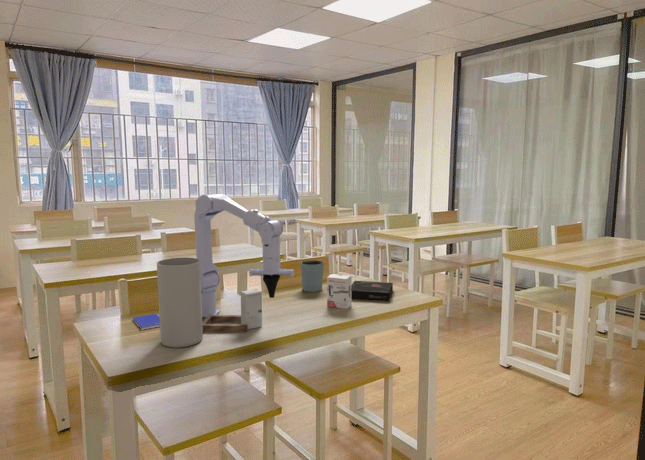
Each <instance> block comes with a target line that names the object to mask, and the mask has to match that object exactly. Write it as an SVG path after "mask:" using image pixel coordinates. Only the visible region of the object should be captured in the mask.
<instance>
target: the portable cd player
mask: <svg viewBox="0 0 645 460" xmlns="http://www.w3.org/2000/svg"><path fill="white" fill-rule="evenodd" d="M393 285H394V282H384V281H370V280H369V281H366V280H365V281H364V280H354V281H353V282H352V283H351V300H358V301H359V300H360V301H373V302H375V301H376V302H387V303H388V302H390V300H391V297H392V293H393V289H394V287H393Z"/></svg>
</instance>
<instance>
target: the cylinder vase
mask: <svg viewBox="0 0 645 460" xmlns="http://www.w3.org/2000/svg"><path fill="white" fill-rule="evenodd" d="M156 275H157V276H156V277H157V292H158V313H159V314H158V316H159V317H160V327H159V333H160V342H161V344H162V345H163V346H165V347H168V348H175V349H176V348H186V347H190V346H194V345H196V344H199V343H200V342H201V341H202V340H203V337H204V335H203V334H204V333H203V332H204V331H203V328H202V322H203V317H202V302H201V275H200V260H199V259H197V257H196V258H195V257H183V256H182V257H172V258H171V257H170V258H165V259H161V260H158V261H156Z"/></svg>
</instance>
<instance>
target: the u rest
mask: <svg viewBox="0 0 645 460" xmlns="http://www.w3.org/2000/svg"><path fill="white" fill-rule="evenodd" d="M212 322H213V323H212ZM214 322H215V323H214ZM229 323H230V324H229ZM231 323H233V324H231ZM234 323H238V324H234ZM239 323H240V324H239ZM202 328H203V332H217V333H219V332H220V333H222V332H224V333H225V332H226V333H227V332H229V333H247V332H248V330H249V329H248V325H242V324H241V314H217V315H209V316H208V317H205V319H204V320H202Z"/></svg>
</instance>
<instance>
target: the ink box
mask: <svg viewBox="0 0 645 460" xmlns="http://www.w3.org/2000/svg"><path fill="white" fill-rule="evenodd" d="M351 285H352V276H351V275H345V274H336V273H332V274H329V275H328V276H327V277H326V306H327V307H329V308H336V309H337V308H338V309H346V310H347V309H349V308H350V307H352V299H351Z"/></svg>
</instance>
